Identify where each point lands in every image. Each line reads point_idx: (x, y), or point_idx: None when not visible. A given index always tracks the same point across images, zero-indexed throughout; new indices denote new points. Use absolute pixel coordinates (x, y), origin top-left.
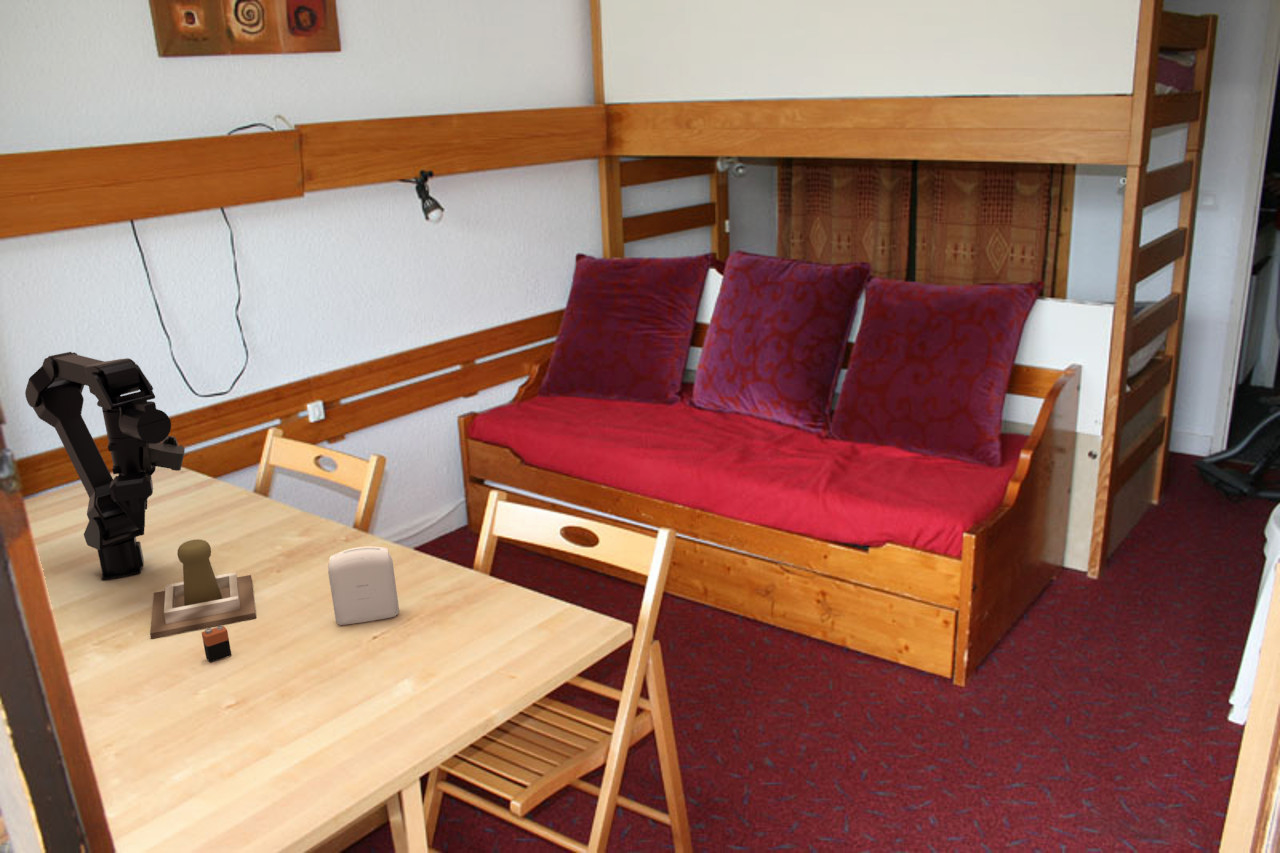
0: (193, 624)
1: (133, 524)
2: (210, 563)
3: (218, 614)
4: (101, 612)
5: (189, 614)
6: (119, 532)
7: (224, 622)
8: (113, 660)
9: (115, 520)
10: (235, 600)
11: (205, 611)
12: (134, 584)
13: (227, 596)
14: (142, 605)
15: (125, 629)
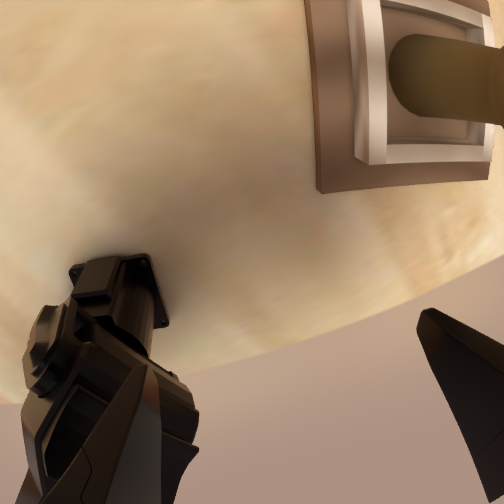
0: None
1: (124, 353)
2: (492, 47)
3: None
4: (337, 283)
5: None
6: (162, 372)
7: None
8: (499, 222)
9: (168, 415)
10: (490, 23)
11: None
12: (208, 252)
13: (415, 22)
14: (344, 210)
15: (430, 223)
